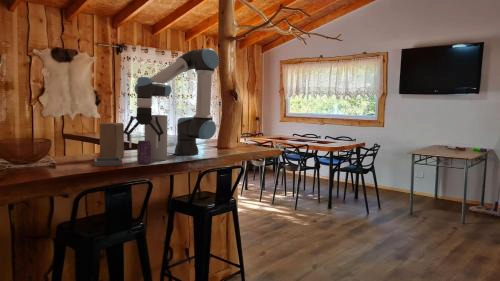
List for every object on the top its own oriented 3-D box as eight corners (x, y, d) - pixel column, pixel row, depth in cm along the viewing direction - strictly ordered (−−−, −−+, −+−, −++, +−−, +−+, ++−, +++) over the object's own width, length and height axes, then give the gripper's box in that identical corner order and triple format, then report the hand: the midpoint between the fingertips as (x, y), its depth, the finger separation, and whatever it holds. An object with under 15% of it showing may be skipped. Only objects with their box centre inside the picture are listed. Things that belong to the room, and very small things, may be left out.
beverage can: (139, 162, 216) (139, 140, 215) (152, 162, 216) (152, 140, 215) (135, 164, 209) (135, 141, 208) (149, 164, 209) (149, 141, 208)
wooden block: (115, 159, 222) (115, 123, 220) (99, 159, 224) (98, 123, 222) (124, 157, 232) (124, 123, 230) (108, 156, 234) (108, 122, 232)
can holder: (120, 161, 216) (120, 157, 216) (122, 165, 204) (122, 160, 204) (94, 162, 211) (94, 157, 211) (94, 166, 199) (94, 161, 199)
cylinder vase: (152, 162, 219) (152, 116, 216) (140, 159, 227) (140, 115, 224) (171, 159, 228) (171, 115, 225) (158, 157, 236) (158, 114, 234)
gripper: (167, 107, 218) (166, 146, 219) (118, 106, 208) (118, 146, 210) (169, 107, 211) (168, 148, 212) (119, 106, 201) (119, 148, 203)
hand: (143, 147), depth 211 cm, fingers open, 13 cm apart
